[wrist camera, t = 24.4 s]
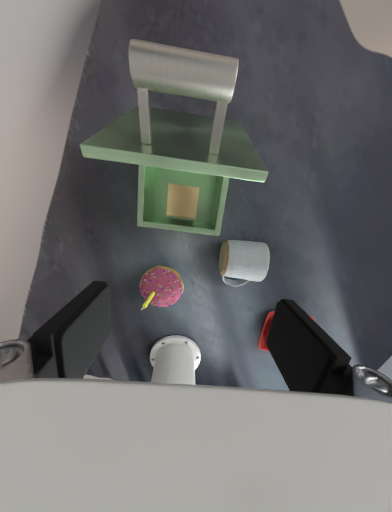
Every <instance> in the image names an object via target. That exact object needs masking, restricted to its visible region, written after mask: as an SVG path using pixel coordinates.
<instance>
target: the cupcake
mask: <svg viewBox="0 0 392 512" xmlns="http://www.w3.org/2000/svg"><path fill="white" fill-rule="evenodd" d="M139 284H140V285H139V292H140V296H142V297H143V298H144V301H145V303H144V304H143V306H142V309H141V310H143V308H146V307H147V305H148V304H149V303H150V304H151V305H153V306H155V307H162V308H163V307H166V306H171V305H172V304H174V303H176V302H177V301H178V299H179V298H180V296H181V294H182V293H183V289H184V285H183V281H182V279H181V277H180V275H179V273H178V272H177V271H176V270H174V269H172V268H169V267H165V266H160V265H158V266H156V267H153V268H151V269H150V270H148V271H147V272H145V273H144V275H143V276H142V278H141V280H140V283H139Z"/></svg>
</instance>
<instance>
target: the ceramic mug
mask: <svg viewBox="0 0 392 512" xmlns="http://www.w3.org/2000/svg"><path fill="white" fill-rule="evenodd" d="M269 263H270V253H269V248H268V246H267V244H265V243H263V242H252V241H241V240H225V241H224V242H223V243H222V246H221V249H220V255H219V272H220V273H221V274H222V279H223V281H224V283H226V284H228V285H230V286H241V285H244V284H246V283H247V282H248V281H249V280H251V281H258V282H259V281H262V280H263V279H264V278H265V276H266V274H267V272H268V268H269ZM225 276H227V277H231V278H240V279H241V280H231V279H228V278H226V277H225Z"/></svg>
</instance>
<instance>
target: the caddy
mask: <svg viewBox="0 0 392 512" xmlns="http://www.w3.org/2000/svg"><path fill="white" fill-rule="evenodd" d="M169 183H170V184H178V185H185V186H192V187H199V188H200V190H199V198H198V206H197V214H196V219H192V218H184V217H176V216H168V215H166V209H167V196H168V184H169ZM228 183H229V177H222V176H215V175H207V174H200V173H193V172H186V171H179V170H172V169H165V168H158V167H151V166H144V165H139V173H138V207H137V226H140V227H148V228H157V229H165V230H174V231H182V232H191V233H199V234H207V235H216V236H220V231H221V225H222V219H223V213H224V207H225V201H226V195H227V189H228Z"/></svg>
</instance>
